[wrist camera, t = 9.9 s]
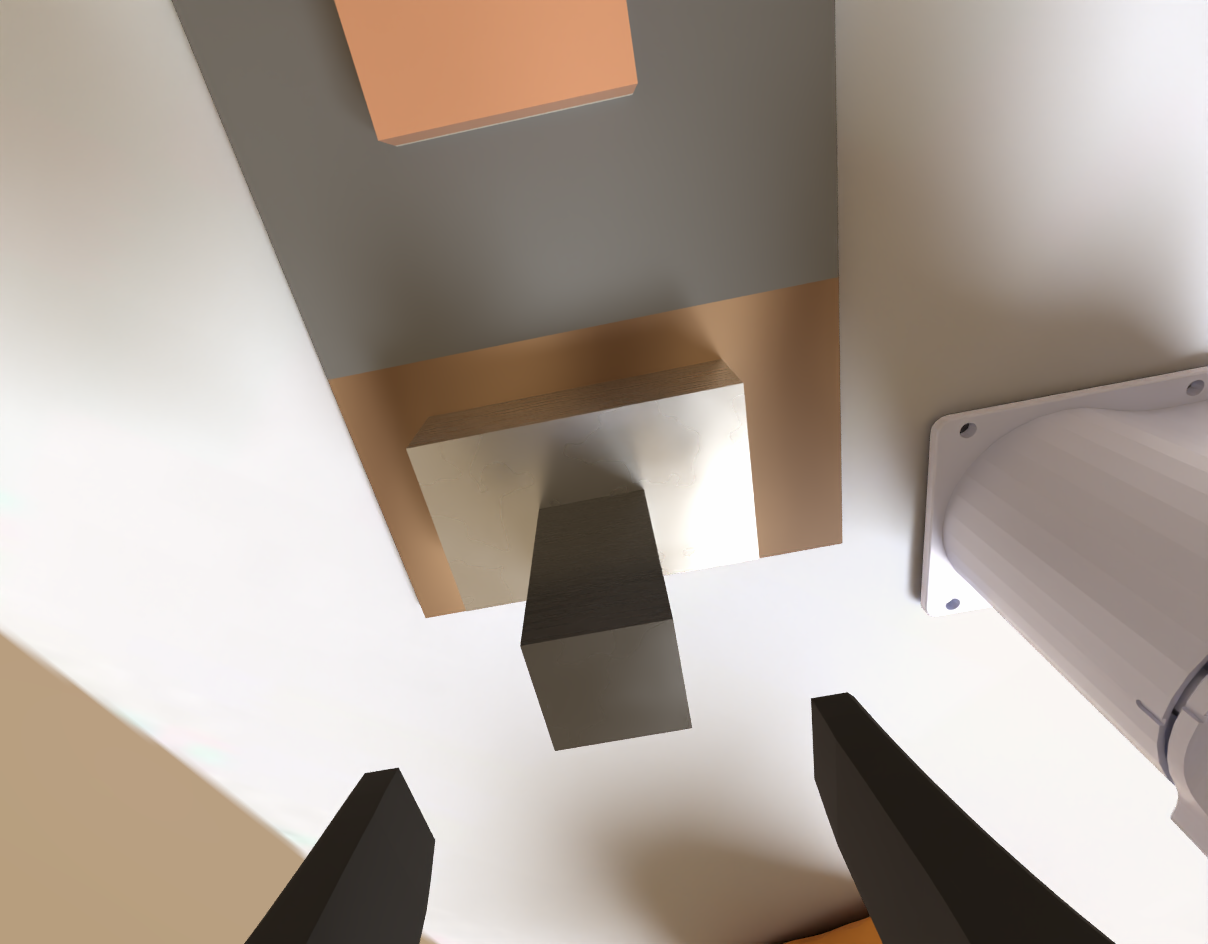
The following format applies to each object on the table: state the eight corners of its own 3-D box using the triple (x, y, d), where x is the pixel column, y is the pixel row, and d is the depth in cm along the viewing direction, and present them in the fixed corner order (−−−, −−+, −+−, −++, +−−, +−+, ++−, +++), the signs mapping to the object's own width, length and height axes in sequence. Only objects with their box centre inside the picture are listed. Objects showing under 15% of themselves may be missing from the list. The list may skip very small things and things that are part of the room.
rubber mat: (818, -419, 11) (828, -445, 11) (831, 275, 17) (838, 277, 16) (89, -230, 12) (70, -247, 11) (334, 375, 17) (327, 380, 17)
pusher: (721, 359, 17) (825, 474, 10) (738, 517, 19) (832, 704, 12) (428, 416, 17) (321, 568, 10) (479, 564, 20) (421, 772, 13)
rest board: (831, 275, 17) (838, 277, 16) (836, 535, 20) (842, 543, 20) (334, 375, 17) (327, 380, 17) (428, 609, 21) (425, 618, 21)
